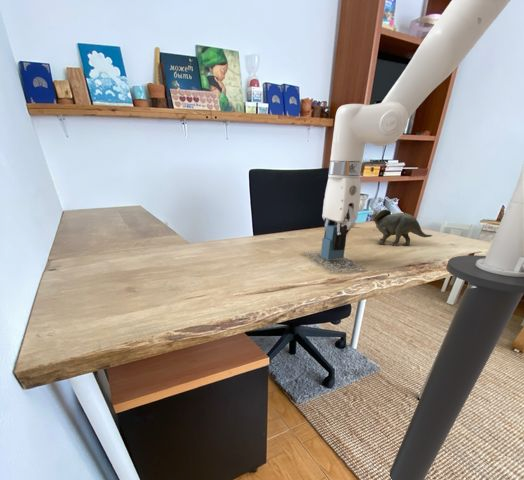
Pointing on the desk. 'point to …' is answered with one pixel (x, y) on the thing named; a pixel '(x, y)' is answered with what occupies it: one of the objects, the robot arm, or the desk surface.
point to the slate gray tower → (330, 244)
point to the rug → (336, 262)
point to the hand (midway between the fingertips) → (333, 246)
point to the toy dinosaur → (396, 225)
